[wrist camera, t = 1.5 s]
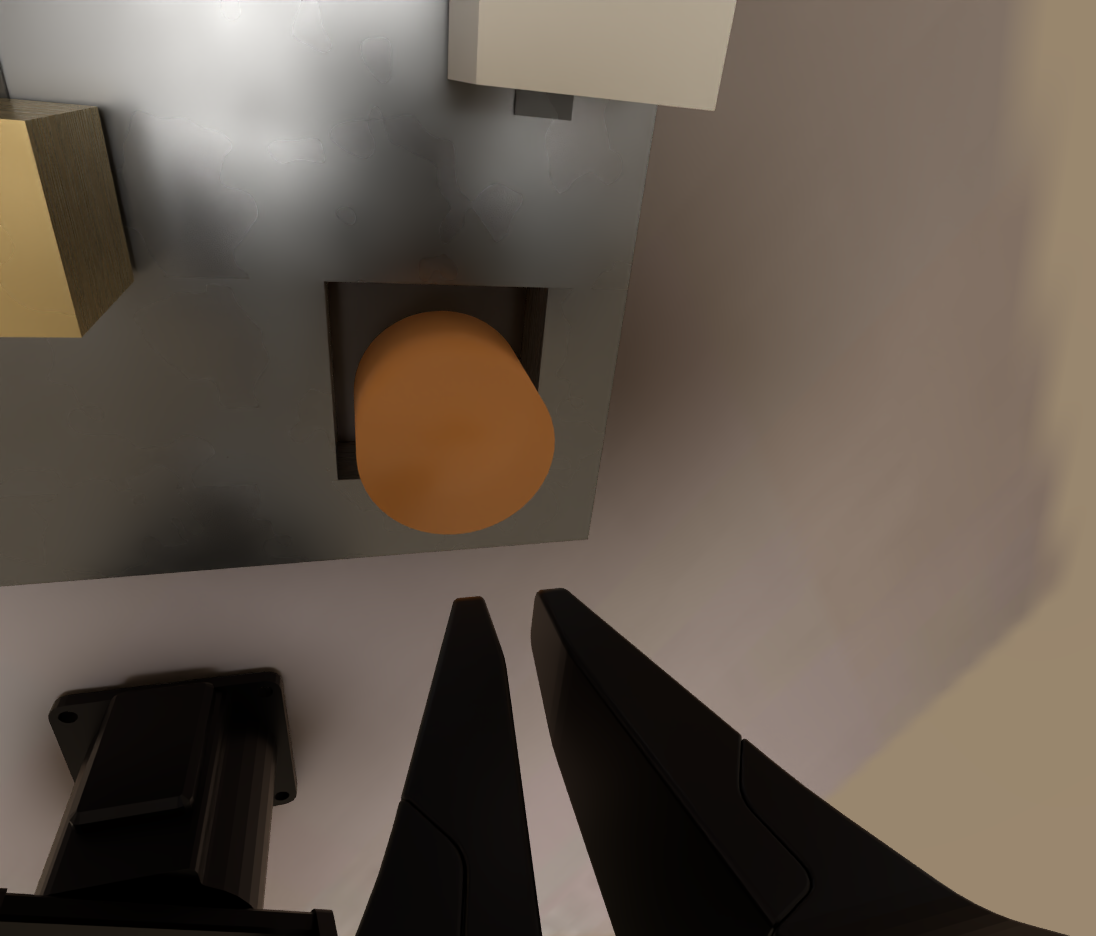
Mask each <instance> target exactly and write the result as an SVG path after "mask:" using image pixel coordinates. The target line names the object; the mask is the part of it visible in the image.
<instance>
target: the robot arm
mask: <svg viewBox="0 0 1096 936" xmlns="http://www.w3.org/2000/svg"><path fill="white" fill-rule="evenodd" d="M531 646H532V652H533V657H534V661H535V666H536V671H537V676H538V680H539V685H540V690H541V695H542V700H543V704H544V709H545V714H546V719H547V724H548V728H549V733H550V737H551V741H552V746H553V749H554V752H555V756H556V759H557V762H558V765H559V768H560V771H561V774H562V777H563V780H564V783H565V786H566V789H567V792H568V795H569V798H570V801H571V804H572V807H573V810H574V813H575V816H576V819H577V822H578V825H579V828H580V831H581V834H582V837H583V840H584V843H585V846H586V849H587V852H588V855H589V858H590V861H591V864H592V867H593V870H594V873H595V876H596V879H597V882H598V885H599V888H600V891H601V894H602V897H603V900H604V903H605V905H606V908H607V911H608V914H609V917H610V920H611V923H612V926H613V929H614V932H615V935H616V936H1068V935H1065V934H1061V933H1057V932H1054V931H1050V930H1047V929H1043V928H1039V927H1036V926H1032V925H1028V924H1025V923H1021V922H1018V921H1015V920H1012V919H1009V918H1006V917H1004V916H1001V915H998V914H996V913H993V912H991V911H989V910H987V909H985V908H983V907H981V906H979V905H977V904H974V903H973V902H971V901H970V900H968V899H966V898H964V897H963V896H960V895H959V894H957V893H956V892H954V891H952V890H951V889H950V888H948V887H946V886H945V885H943V884H942V883H940V882H939V881H937V880H936V879H935V878H933V877H932V876H930V875H929V874H927V873H926V872H925V871H923V870H922V869H920V868H919V867H917V866H916V865H915V864H913V863H912V862H910V861H909V860H907V859H906V858H905V857H903V856H902V855H900V854H899V853H898V852H896V851H895V850H893V849H892V848H890V847H889V846H888V845H886V844H885V843H883V842H882V841H880V840H879V839H878V838H876V837H875V836H873V835H872V834H870V833H869V832H868V831H866V830H865V829H863V828H862V827H860V826H859V825H858V824H856V823H855V822H853V821H852V820H850V819H849V818H847V817H846V816H845V815H843V814H842V813H841V812H839V811H838V810H836V809H835V808H834V807H832V806H831V805H830V804H828V803H827V802H826V801H824V800H823V799H821V798H820V797H819V796H817V795H816V794H815V793H813V792H812V791H810V790H809V789H808V788H806V787H805V786H804V785H802V784H801V783H800V782H799V781H797V780H796V779H795V778H794V777H792V776H791V775H790V774H789V773H787V772H786V771H785V770H783V769H782V768H781V767H780V766H778V765H777V764H776V763H775V762H773V761H772V760H771V759H770V758H768V757H767V756H766V755H765V754H764V753H762V752H761V751H760V750H759V749H758V748H756V747H755V746H754V745H753V744H752V743H750V742H749V741H748V740H747V739H743V740H742V737H741V735H740V734H739V733H738V732H737V731H736V730H734V729H733V728H732V727H731V726H730V725H728V724H727V723H726V722H725V721H724V720H722V719H721V718H720V717H719V716H718V715H716V714H715V713H714V712H713V711H712V710H710V709H709V708H708V707H707V706H706V705H704V704H703V703H702V702H701V701H700V700H698V699H697V698H696V697H695V696H694V695H692V694H691V693H690V692H689V691H688V690H686V689H685V688H684V687H683V686H682V685H680V684H679V683H678V682H677V681H676V680H674V679H673V678H672V677H671V676H670V675H669V674H667V673H666V672H665V671H664V670H662V669H661V668H660V667H659V666H658V665H657V664H655V663H654V662H653V661H652V660H651V659H649V658H648V657H647V656H646V655H645V654H643V653H642V652H641V651H640V650H639V649H637V648H636V647H635V646H634V645H633V644H631V643H630V642H629V641H628V640H627V639H625V638H624V637H623V636H622V635H621V634H619V633H618V632H617V631H616V630H615V629H613V628H612V627H611V626H610V625H609V624H607V623H606V622H605V621H604V620H603V619H601V618H600V617H599V616H598V615H597V614H595V613H594V612H593V611H592V610H591V609H589V608H588V607H587V606H586V605H585V604H583V603H582V602H581V601H580V600H579V599H577V598H576V597H575V596H574V595H573V594H571V593H570V592H569V591H568V590H566V589H564V588H555V589H545V590H540V591H538V592H537V594H536V596H535V601H534V609H533V618H532V626H531ZM264 686H266V687H268V688H262V687H264ZM48 717H49V722H50V724H51V727H52V729H53V731H54V734H55V736H56V739H57V741H58V744H59V746H60V748H61V751H62V753H63V756H64V758H65V760H66V763H67V765H68V768H69V770H70V772H71V775H72V777H73V780H74V782H75V785H74V787H73V790H72V793H71V796H70V798H69V801H68V804H67V807H66V809H65V812H64V815H63V817H62V820H61V823H60V826H59V828H58V831H57V834H56V837H55V839H54V842H53V845H52V847H51V850H50V853H49V856H48V858H47V861H46V864H45V867H44V869H43V872H42V875H41V877H40V880H39V883H38V886H37V888H36V891H35V894H34V895H31V894H15V893H6V892H7V888H0V936H337V930H336V925H335V920H334V915H333V911H332V910H324V909H313V910H312V911H311V912H298V911H283V910H267V909H263V906H264V895H265V884H266V873H267V862H268V851H269V840H270V830H271V819H272V808H273V806H277V805H282V804H286V803H289V802H291V801H293V800H294V799H295V797H296V794H297V779H296V772H295V765H294V758H293V751H292V744H291V738H290V731H289V724H288V717H287V710H286V703H285V696H284V689H283V682H282V679H281V677H280V676H279V675H278V674H276V673H273V672H258V673H249V674H241V675H233V676H224V677H216V678H208V679H200V680H191V681H183V682H175V683H167V684H158V685H150V686H142V687H134V688H125V689H117V690H109V691H100V692H92V693H84V694H76V695H68V696H64V697H61V698H59V699H57V700H56V701H55V703H54V704H53V706H52V708H51V711H50V713H49V715H48ZM741 740H742V741H741ZM355 936H542V931H541V923H540V916H539V908H538V901H537V893H536V886H535V878H534V871H533V863H532V856H531V848H530V841H529V833H528V826H527V818H526V810H525V803H524V795H523V788H522V780H521V773H520V765H519V758H518V750H517V743H516V735H515V728H514V720H513V713H512V705H511V698H510V690H509V683H508V675H507V668H506V663H505V658H504V655H503V652H502V648H501V645H500V643H499V640H498V637H497V634H496V631H495V628H494V625H493V623H492V620H491V617H490V614H489V611H488V608H487V606H486V603H485V600H484V599H483V598H482V597H480V596H475V597H465V598H457V599H456V600H455V601H454V602H453V605H452V609H451V613H450V616H449V620H448V624H447V628H446V631H445V635H444V639H443V643H442V646H441V650H440V654H439V658H438V661H437V665H436V669H435V673H434V676H433V680H432V684H431V687H430V691H429V695H428V699H427V702H426V706H425V710H424V714H423V717H422V721H421V725H420V729H419V732H418V736H417V740H416V744H415V747H414V751H413V755H412V758H411V762H410V766H409V770H408V773H407V777H406V781H405V785H404V788H403V792H402V796H401V801H400V803H399V806H398V809H397V813H396V817H395V821H394V824H393V828H392V832H391V835H390V838H389V842H388V845H387V848H386V851H385V855H384V858H383V861H382V865H381V868H380V871H379V874H378V877H377V880H376V882H375V885H374V888H373V890H372V893H371V896H370V898H369V901H368V904H367V906H366V909H365V912H364V914H363V917H362V920H361V922H360V925H359V928H358V930H357V932H356V935H355Z"/></svg>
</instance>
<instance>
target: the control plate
mask: <svg viewBox="0 0 1096 936" xmlns="http://www.w3.org/2000/svg"><path fill="white" fill-rule="evenodd" d="M448 40H449V0H0V98H7V99H18V100H29V101H40V102H52V103H63V104H74V105H85V106H97V107H98V112H99V116H100V121H101V126H102V130H103V135H104V140H105V145H106V149H107V154H108V159H109V163H110V168H111V173H112V177H113V182H114V187H115V192H116V196H117V201H118V206H119V210H120V215H121V220H122V225H123V229H124V234H125V239H126V243H127V248H128V253H129V258H130V262H131V267H132V272H133V276H134V282H133V283H132V284H131V285H130V286H129V287H128V288H127V289H126V290H125V292H124V293H123V294H122V295H121V296H120V297H119V298H118V299H117V300H116V301H115V302H114V303H113V304H112V306H111V307H110V308H109V309H108V310H107V311H106V312H105V313H104V314H103V315H102V316H101V317H100V318H99V320H98V321H97V322H96V323H95V324H94V325H93V326H92V327H91V328H90V329H89V330H88V331H87V332H86V333H85V335H84V336H83V337H82V338H62V337H0V586H12V585H25V584H37V583H50V582H62V581H75V580H87V579H100V578H112V577H124V576H137V575H149V574H162V573H174V572H187V571H199V570H212V569H224V568H236V567H249V566H261V565H274V564H286V563H299V562H311V561H324V560H336V559H348V558H361V557H373V556H386V555H398V554H411V553H423V552H436V551H448V550H460V549H473V548H485V547H498V546H510V545H523V544H535V543H548V542H560V541H572V540H585V539H588V534H589V528H590V522H591V516H592V509H593V503H594V497H595V491H596V485H597V478H598V472H599V466H600V460H601V453H602V447H603V441H604V435H605V429H606V422H607V416H608V410H609V404H610V398H611V391H612V385H613V379H614V373H615V366H616V360H617V354H618V348H619V342H620V335H621V329H622V323H623V317H624V311H625V304H626V298H627V292H628V286H629V279H630V273H631V267H632V261H633V255H634V248H635V242H636V236H637V230H638V224H639V217H640V211H641V205H642V199H643V192H644V186H645V180H646V174H647V168H648V161H649V155H650V149H651V143H652V136H653V130H654V124H655V118H656V112H657V105H656V104H647V103H638V102H629V101H621V100H612V99H603V98H594V97H585V96H576V95H567V94H558V93H549V92H540V91H531V90H522V89H513V88H504V87H495V86H487V85H478V84H472V83H466V82H461V81H456V80H450V79H448ZM327 281H332V282H367V283H402V284H437V285H472V286H507V287H527V291H526V303H525V315H524V327H523V339H522V351H521V365H522V366H523V368H524V370H525V371H526V373H527V375H528V376H529V378H530V380H531V382H532V383H533V385H534V387H535V388H536V390H537V392H538V393H539V395H540V397H541V398H542V400H543V402H544V404H545V405H546V407H547V409H548V412H549V414H550V416H551V419H552V423H553V427H554V436H555V446H554V454H553V459H552V463H551V466H550V469H549V472H548V474H547V476H546V478H545V480H544V482H543V483H542V485H541V487H540V488H539V490H538V491H537V492H536V493H535V495H534V496H533V497H532V498H531V499H530V500H529V501H528V502H527V503H526V504H525V505H524V506H523V507H522V508H521V509H520V510H518V511H517V512H516V513H514V514H513V515H511V516H510V517H508V518H506V519H505V520H503V521H501V522H499V523H497V524H495V525H493V526H490V527H487V528H484V529H481V530H478V531H474V532H469V533H462V534H445V535H444V534H433V533H427V532H423V531H419V530H416V529H413V528H409V527H407V526H405V525H403V524H401V523H399V522H397V521H395V520H394V519H392V518H391V517H389V516H388V515H387V514H385V513H384V512H383V511H382V510H381V509H380V508H379V507H378V506H377V505H376V504H375V503H374V502H373V501H372V499H371V498H370V496H369V495H368V493H367V492H366V490H365V488H364V486H363V484H362V482H361V479H360V475H359V472H358V467H357V459H356V442H338V436H337V421H336V406H335V391H334V376H333V361H332V346H331V332H330V317H329V302H328V287H327Z"/></svg>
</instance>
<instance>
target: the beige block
mask: <svg viewBox="0 0 1096 936" xmlns="http://www.w3.org/2000/svg"><path fill="white" fill-rule="evenodd" d="M736 1H737V0H449V40H448V79H450V80H456V81H461V82H466V83H472V84H478V85H487V86H495V87H504V88H513V89H522V90H531V91H540V92H549V93H558V94H567V95H576V96H585V97H594V98H603V99H612V100H621V101H629V102H638V103H647V104H656V105H665V106H674V107H683V108H692V109H701V110H710V111H715V106H716V101H717V96H718V91H719V86H720V81H721V76H722V71H723V66H724V61H725V56H726V51H727V46H728V41H729V36H730V31H731V26H732V21H733V16H734V11H735V6H736Z"/></svg>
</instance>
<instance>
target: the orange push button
mask: <svg viewBox="0 0 1096 936" xmlns="http://www.w3.org/2000/svg"><path fill="white" fill-rule="evenodd" d="M354 410H355V436H356V459H357V467H358V472H359V475H360V479H361V482H362V484H363V486H364V488H365V490H366V492H367V493H368V495H369V496H370V498H371V499H372V501H373V502H374V503H375V504H376V505H377V506H378V507H379V508H380V509H381V510H382V511H383V512H384V513H385V514H387V515H388V516H389V517H391V518H392V519H394V520H395V521H397V522H399V523H401V524H403V525H405V526H407V527H409V528H413V529H416V530H419V531H423V532H427V533H433V534H444V535H445V534H462V533H469V532H474V531H478V530H481V529H484V528H487V527H490V526H493V525H495V524H497V523H499V522H501V521H503V520H505V519H506V518H508V517H510V516H511V515H513V514H514V513H516V512H517V511H518V510H520V509H521V508H522V507H523V506H524V505H525V504H526V503H527V502H528V501H529V500H530V499H531V498H532V497H533V496H534V495H535V493H536V492H537V491H538V490H539V488H540V487H541V485H542V483H543V482H544V480H545V478H546V476H547V474H548V472H549V469H550V466H551V463H552V459H553V454H554V446H555V436H554V427H553V423H552V419H551V416H550V414H549V412H548V409H547V407H546V405H545V404H544V402H543V400H542V398H541V397H540V395H539V393H538V392H537V390H536V388H535V387H534V385H533V383H532V382H531V380H530V378H529V376H528V375H527V373H526V371H525V370H524V368H523V366H522V365H521V363H520V361H519V360H518V358H517V356H516V354H515V353H514V351H513V350H512V348H511V346H510V345H509V343H508V342H507V341H506V340H505V338H504V337H503V336H502V335H501V334H500V333H499V332H498V331H496V330H495V329H494V328H493V327H491V326H490V325H488V324H487V323H485V322H483V321H481V320H479V319H478V318H475V317H472V316H470V315H467V314H463V313H458V312H453V311H429V312H423V313H418V314H415V315H412V316H409V317H406V318H404V319H402V320H400V321H397V322H396V323H394V324H393V325H391V326H389V327H388V328H386V329H385V330H384V331H383V332H382V333H380V334H379V335H378V336H377V337H376V338H375V339H374V340H373V342H372V343H371V344H370V345H369V347H368V348H367V350H366V351H365V352H364V354H363V356H362V358H361V360H360V362H359V365H358V368H357V371H356V375H355V381H354Z"/></svg>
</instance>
